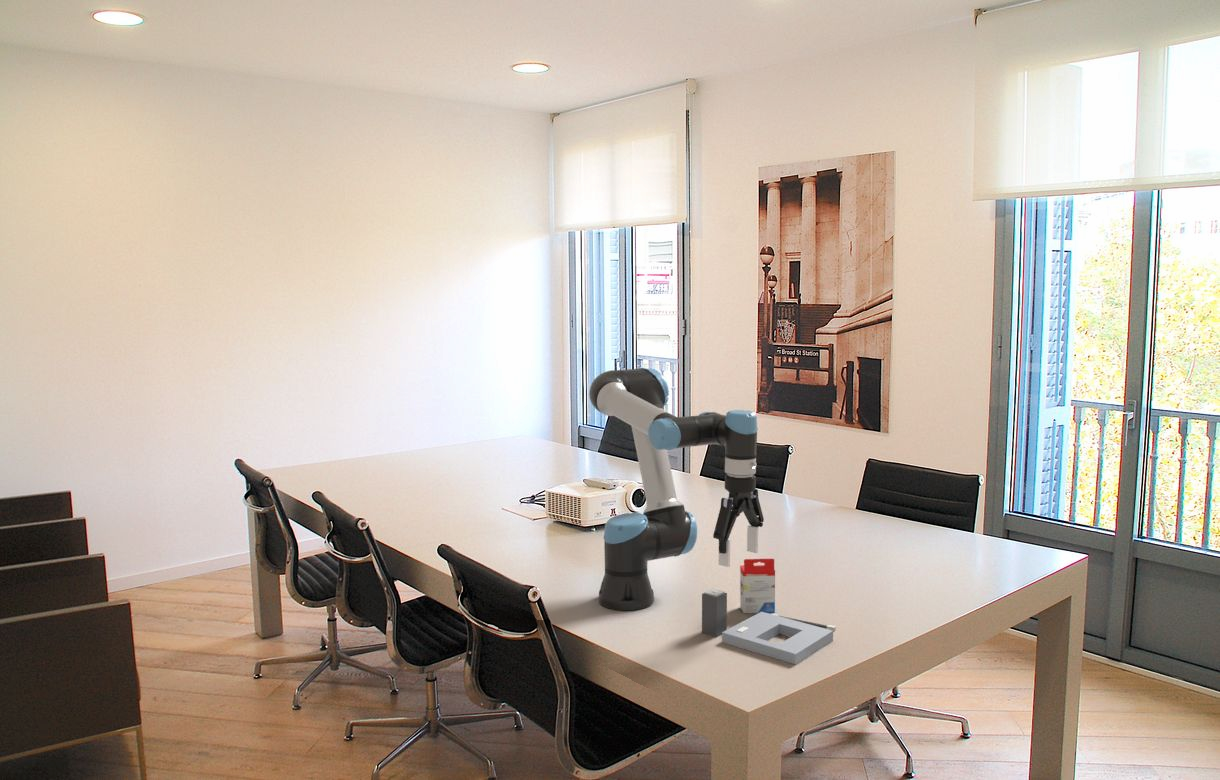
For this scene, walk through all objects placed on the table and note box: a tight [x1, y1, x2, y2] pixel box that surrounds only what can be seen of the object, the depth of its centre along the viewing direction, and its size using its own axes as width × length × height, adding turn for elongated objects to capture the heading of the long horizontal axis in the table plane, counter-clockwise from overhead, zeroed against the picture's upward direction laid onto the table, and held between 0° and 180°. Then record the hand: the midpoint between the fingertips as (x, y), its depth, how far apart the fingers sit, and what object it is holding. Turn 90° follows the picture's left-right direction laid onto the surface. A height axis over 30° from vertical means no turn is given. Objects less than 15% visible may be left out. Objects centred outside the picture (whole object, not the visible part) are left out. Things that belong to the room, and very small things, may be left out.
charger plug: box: [701, 588, 728, 638], centre depth 223 cm, size 4×4×11 cm
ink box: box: [739, 558, 776, 614], centre depth 238 cm, size 8×5×15 cm, turn 92°
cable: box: [771, 612, 837, 632], centre depth 229 cm, size 17×1×1 cm, turn 57°
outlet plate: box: [721, 612, 834, 666], centre depth 218 cm, size 20×18×3 cm
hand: (738, 558), depth 222 cm, fingers open, 13 cm apart
